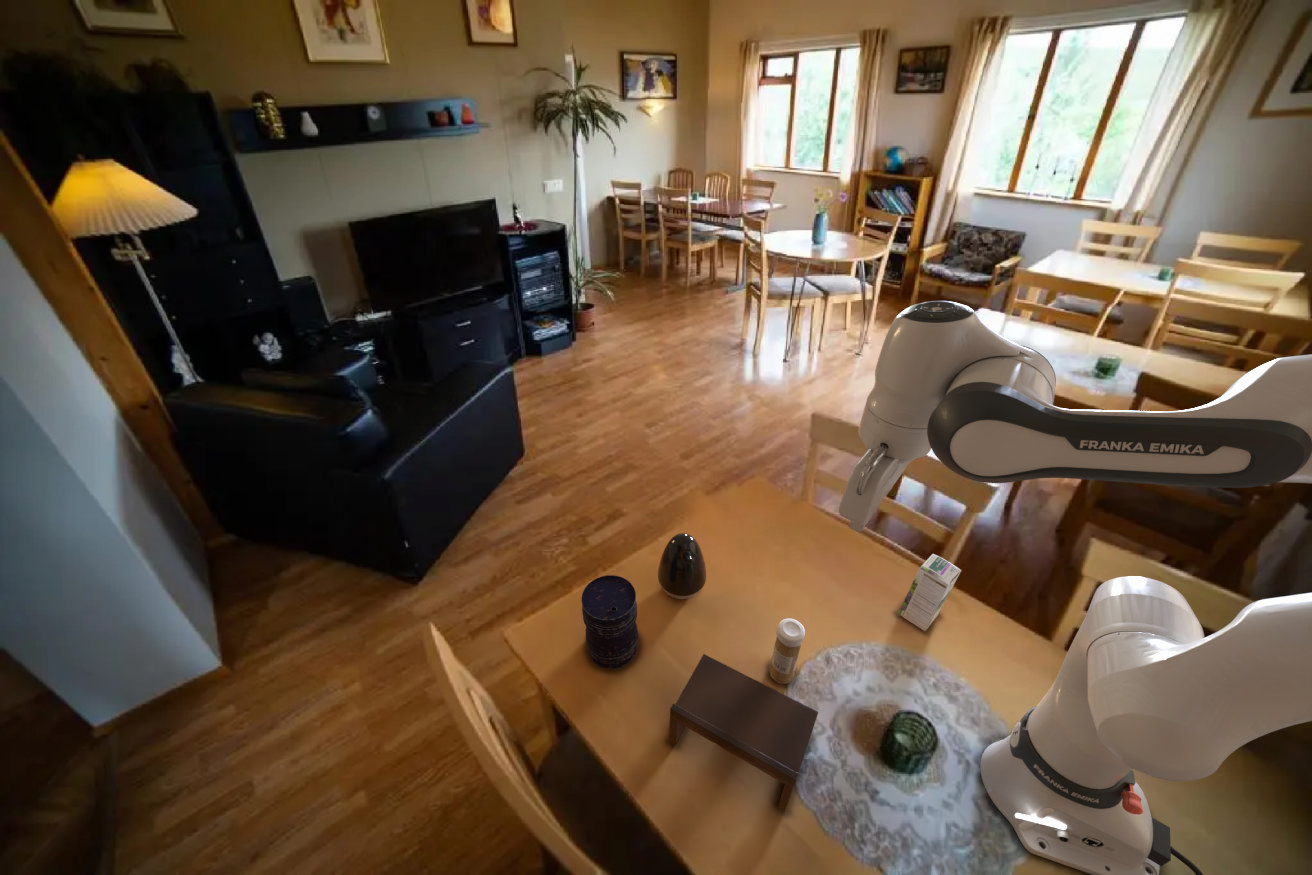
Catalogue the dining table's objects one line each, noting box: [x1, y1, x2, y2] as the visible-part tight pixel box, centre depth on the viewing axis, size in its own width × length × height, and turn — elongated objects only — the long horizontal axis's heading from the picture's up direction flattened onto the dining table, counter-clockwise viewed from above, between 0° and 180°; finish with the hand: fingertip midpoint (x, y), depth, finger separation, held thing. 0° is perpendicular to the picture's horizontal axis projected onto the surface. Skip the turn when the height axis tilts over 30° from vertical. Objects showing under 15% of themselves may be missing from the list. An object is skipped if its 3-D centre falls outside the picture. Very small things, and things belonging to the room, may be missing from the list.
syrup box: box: [898, 553, 962, 632], centre depth 104 cm, size 6×6×14 cm
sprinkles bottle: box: [768, 618, 806, 685], centre depth 94 cm, size 5×5×14 cm
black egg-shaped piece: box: [657, 532, 707, 600], centre depth 110 cm, size 10×10×15 cm
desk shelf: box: [669, 653, 819, 812], centre depth 85 cm, size 20×12×11 cm, turn 60°
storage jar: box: [581, 574, 639, 670], centre depth 98 cm, size 10×10×15 cm
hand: (870, 508), depth 75 cm, fingers open, 8 cm apart
